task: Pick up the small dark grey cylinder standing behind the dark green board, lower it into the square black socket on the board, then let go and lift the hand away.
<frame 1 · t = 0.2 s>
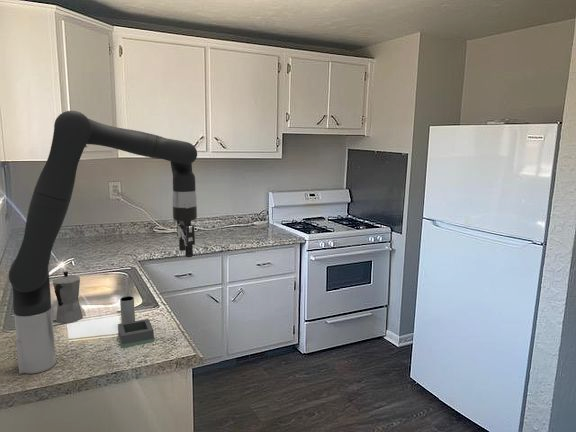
hand: (185, 253, 141), 29 cm above the worktop, tool pointing down, fingers open, 8 cm apart
coffeepot: (68, 320, 157), on the worktop
dark grey cylinder: (128, 326, 153), on the worktop
socket board: (136, 338, 143), on the worktop
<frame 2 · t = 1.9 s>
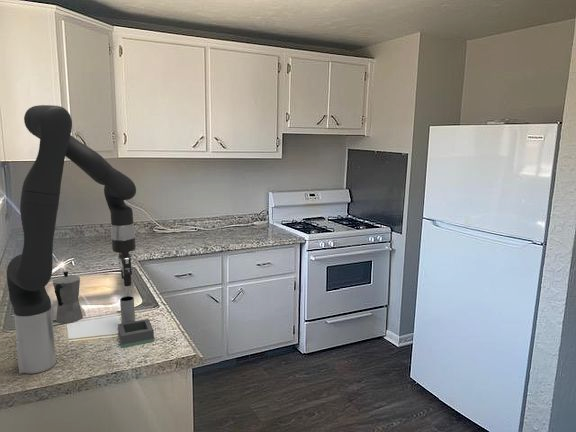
hand: (126, 282, 150), 16 cm above the worktop, tool pointing down, fingers open, 8 cm apart
nothing on the worktop moved.
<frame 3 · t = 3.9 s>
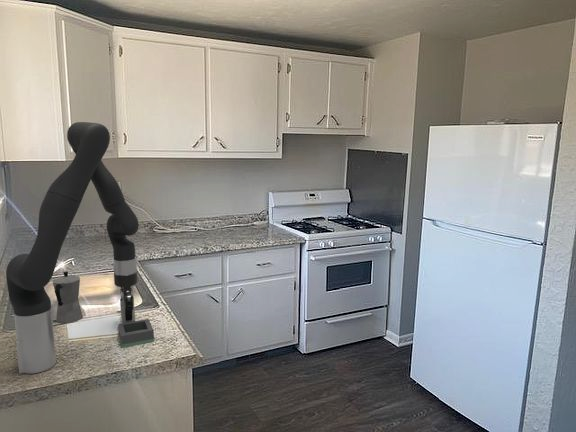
hand: (128, 317, 152), 3 cm above the worktop, tool pointing down, fingers closed on dark grey cylinder, 4 cm apart
dark grey cylinder: (128, 326, 153), on the worktop, touching gripper
everything else where it was.
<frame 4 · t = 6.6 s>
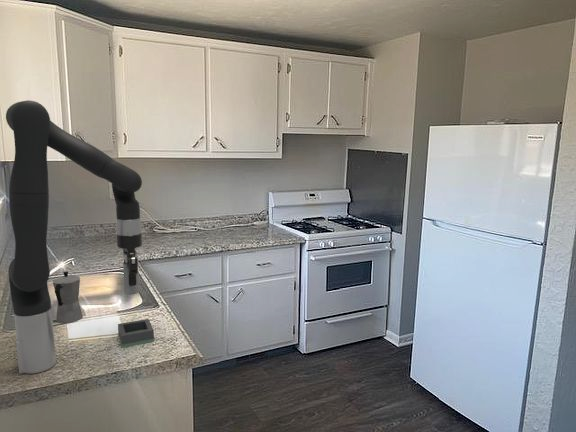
hand: (131, 282, 141), 19 cm above the worktop, tool pointing down, fingers closed on dark grey cylinder, 4 cm apart
dark grey cylinder: (132, 292, 142), point 16 cm above the worktop, touching gripper
everything else where it was.
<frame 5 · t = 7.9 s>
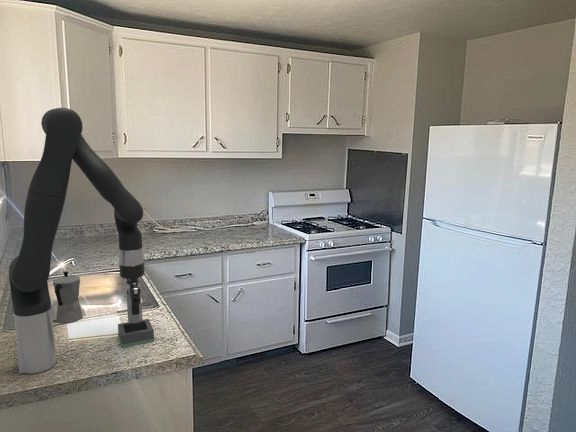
hand: (134, 311, 142), 10 cm above the worktop, tool pointing down, fingers closed on dark grey cylinder, 4 cm apart
dark grey cylinder: (135, 321, 142), point 6 cm above the worktop, touching gripper
everything else where it was.
when the fingers open (5 cm above the worktop, at t = 9.2 s): dark grey cylinder stays where it is, resting on socket board.
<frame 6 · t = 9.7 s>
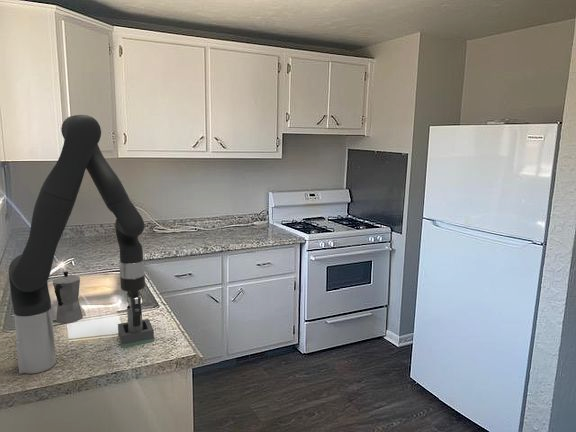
hand: (135, 321, 142), 6 cm above the worktop, tool pointing down, fingers open, 8 cm apart
dark grey cylinder: (135, 335, 143), point 1 cm above the worktop, touching socket board
everything else where it was.
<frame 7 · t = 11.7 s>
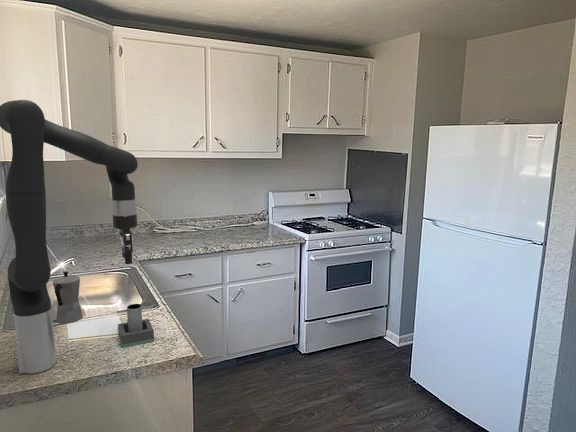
hand: (127, 260, 145), 25 cm above the worktop, tool pointing down, fingers open, 8 cm apart
nothing on the worktop moved.
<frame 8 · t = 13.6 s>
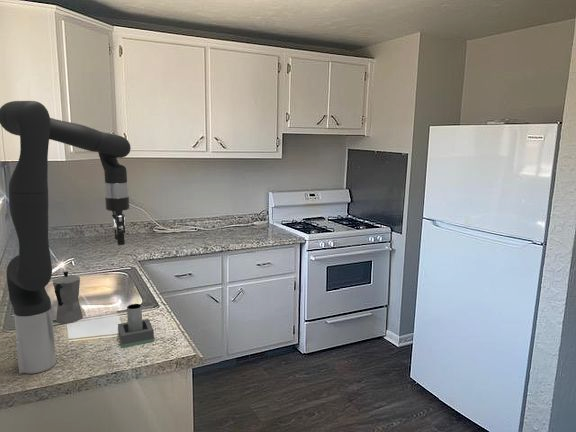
hand: (119, 242, 149), 30 cm above the worktop, tool pointing down, fingers open, 8 cm apart
nothing on the worktop moved.
at the end: dark grey cylinder 0.0 cm off-centre on the socket board, point 0.8 cm above the socket board's base; dark grey cylinder tilted 0°; the gripper is holding nothing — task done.
